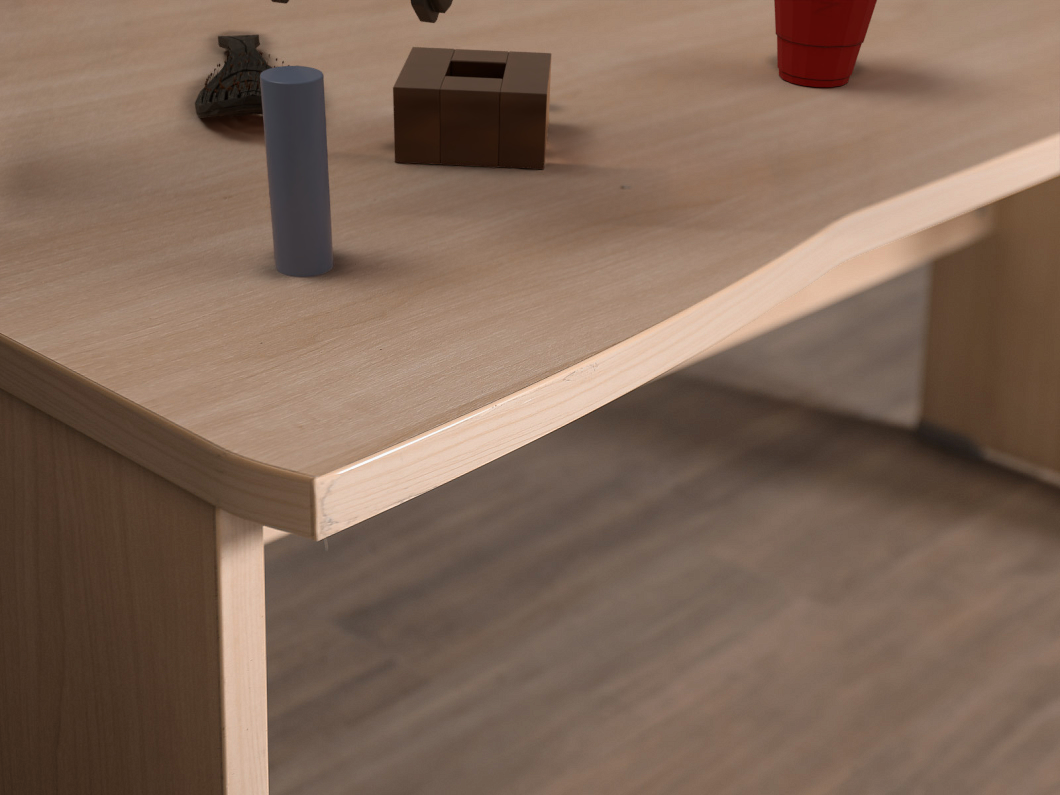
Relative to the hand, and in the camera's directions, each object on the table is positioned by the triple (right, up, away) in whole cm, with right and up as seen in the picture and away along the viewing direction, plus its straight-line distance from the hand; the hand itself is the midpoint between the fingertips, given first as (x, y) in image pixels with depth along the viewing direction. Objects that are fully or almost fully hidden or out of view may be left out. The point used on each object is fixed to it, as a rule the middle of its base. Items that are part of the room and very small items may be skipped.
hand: (346, 4), depth 63 cm
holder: (+6, -2, +22) cm, 23 cm away
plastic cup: (+32, +6, +38) cm, 51 cm away
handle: (-2, -14, +2) cm, 14 cm away
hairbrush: (-12, +3, +31) cm, 33 cm away
